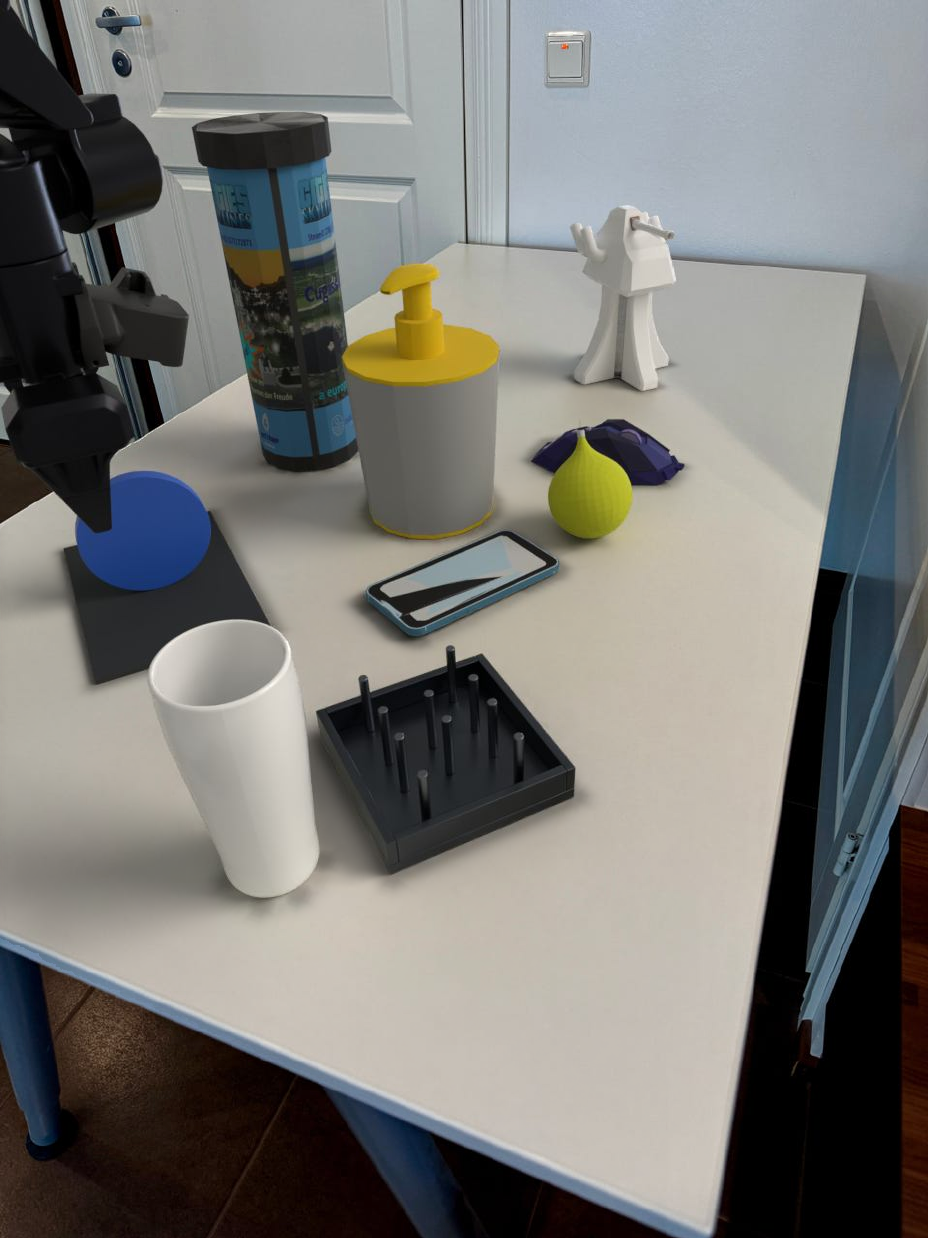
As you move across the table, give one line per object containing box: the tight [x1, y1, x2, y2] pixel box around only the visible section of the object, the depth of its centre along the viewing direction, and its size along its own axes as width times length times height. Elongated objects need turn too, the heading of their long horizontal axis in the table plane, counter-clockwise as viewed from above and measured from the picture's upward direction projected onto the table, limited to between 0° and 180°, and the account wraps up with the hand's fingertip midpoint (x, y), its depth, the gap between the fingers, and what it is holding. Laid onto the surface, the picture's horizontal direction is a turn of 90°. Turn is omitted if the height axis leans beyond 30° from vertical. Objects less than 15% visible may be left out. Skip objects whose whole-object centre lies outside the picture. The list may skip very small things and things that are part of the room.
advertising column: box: [191, 111, 359, 473], centre depth 82 cm, size 11×11×30 cm
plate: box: [74, 470, 211, 591], centre depth 69 cm, size 1×10×10 cm, turn 116°
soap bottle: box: [342, 263, 501, 540], centre depth 75 cm, size 13×13×21 cm
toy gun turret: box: [570, 204, 677, 392], centre depth 99 cm, size 12×13×18 cm
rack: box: [315, 644, 576, 875], centre depth 54 cm, size 12×12×5 cm
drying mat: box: [63, 510, 272, 685], centre depth 72 cm, size 13×20×1 cm, turn 26°
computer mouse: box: [531, 418, 686, 486], centre depth 86 cm, size 9×15×4 cm, turn 64°
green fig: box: [547, 421, 634, 539], centre depth 74 cm, size 7×7×10 cm
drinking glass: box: [146, 620, 321, 899], centre depth 45 cm, size 7×7×15 cm
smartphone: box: [365, 529, 560, 637], centre depth 70 cm, size 7×1×15 cm
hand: (92, 499), depth 58 cm, fingers open, 9 cm apart
